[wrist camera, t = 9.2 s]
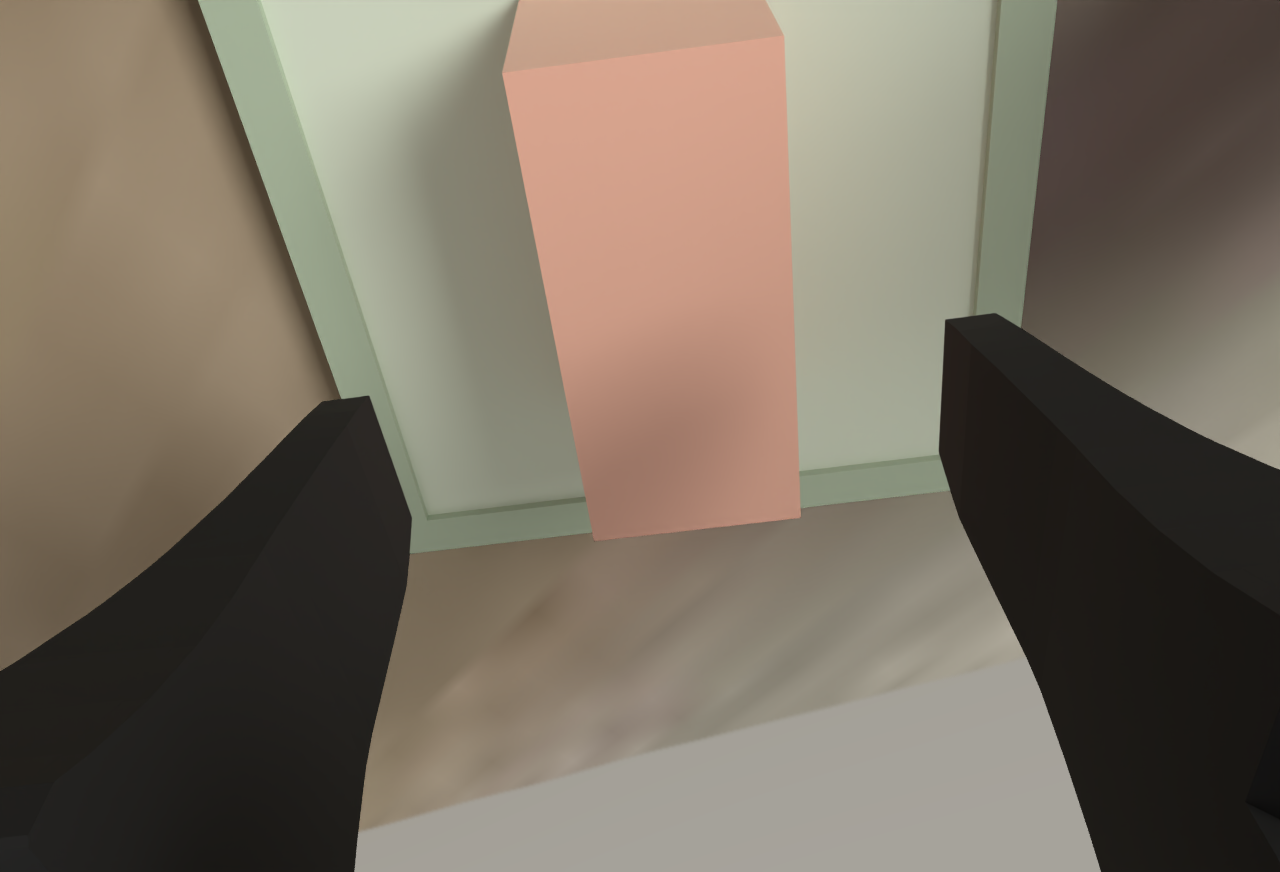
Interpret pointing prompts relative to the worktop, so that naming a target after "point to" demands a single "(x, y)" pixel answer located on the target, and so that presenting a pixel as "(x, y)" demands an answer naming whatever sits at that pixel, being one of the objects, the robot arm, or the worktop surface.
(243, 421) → the worktop surface
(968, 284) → the baseplate
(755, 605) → the worktop surface
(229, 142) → the worktop surface
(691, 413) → the coral brick
